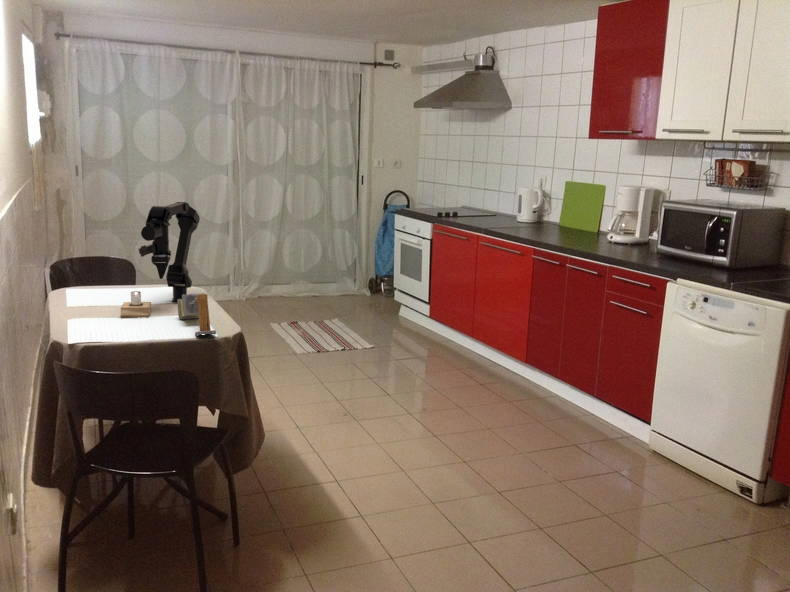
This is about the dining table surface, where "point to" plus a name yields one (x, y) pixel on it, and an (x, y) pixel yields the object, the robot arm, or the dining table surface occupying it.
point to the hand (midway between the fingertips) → (162, 276)
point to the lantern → (195, 311)
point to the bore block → (135, 310)
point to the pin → (135, 298)
